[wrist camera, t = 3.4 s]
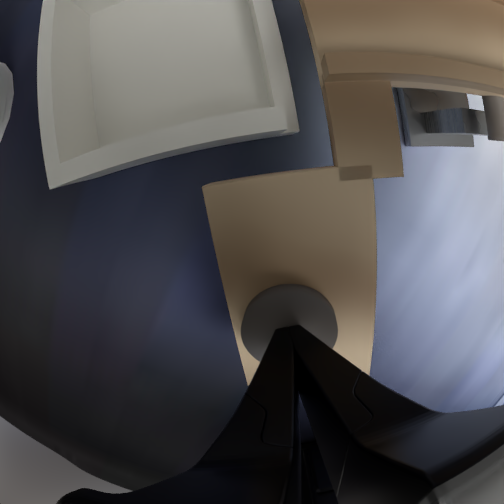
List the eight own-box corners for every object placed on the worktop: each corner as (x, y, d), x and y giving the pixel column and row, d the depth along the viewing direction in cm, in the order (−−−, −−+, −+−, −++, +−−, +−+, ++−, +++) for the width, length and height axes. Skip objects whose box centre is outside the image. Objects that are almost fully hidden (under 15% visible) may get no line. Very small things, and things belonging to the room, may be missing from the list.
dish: (291, 135, 11) (312, 126, 7) (95, 178, 11) (49, 189, 8) (253, -35, 8) (257, -78, 4) (80, 13, 8) (45, -12, 5)
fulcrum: (468, 146, 11) (510, 151, 8) (405, 146, 11) (448, 148, 8) (430, -5, 8) (460, -24, 5) (362, -21, 8) (388, -51, 5)
